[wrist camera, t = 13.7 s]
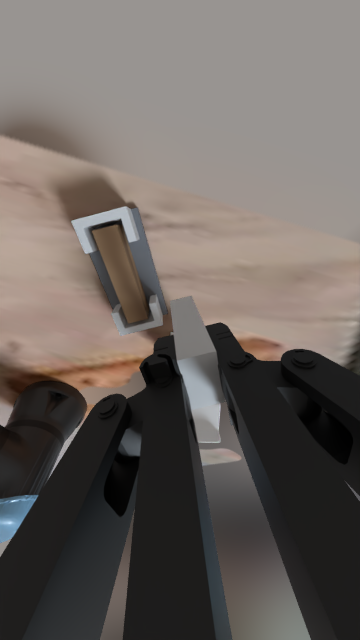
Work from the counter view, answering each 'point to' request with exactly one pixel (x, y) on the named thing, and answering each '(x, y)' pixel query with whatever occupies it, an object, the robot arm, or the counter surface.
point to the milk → (207, 422)
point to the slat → (122, 271)
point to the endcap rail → (141, 259)
